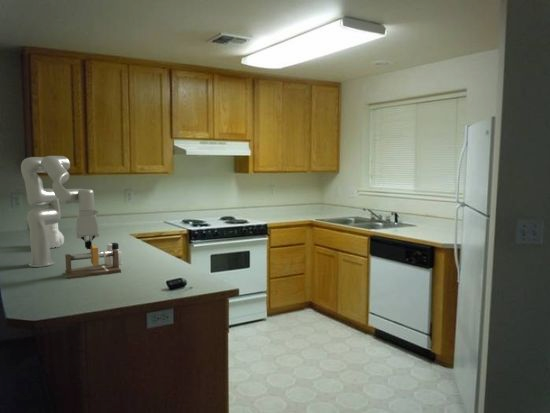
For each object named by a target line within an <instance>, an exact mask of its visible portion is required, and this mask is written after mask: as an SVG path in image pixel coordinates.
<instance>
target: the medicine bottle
mask: <svg viewBox="0 0 550 413" xmlns="http://www.w3.org/2000/svg"><path fill="white" fill-rule="evenodd" d="M112 250H118V259H119V266H120V265H123V252H122V251H119V250H120V249H119V243H118V242H109V243H107V245H106V251H112ZM112 264H113V256H111V257H104V265H112Z"/></svg>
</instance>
